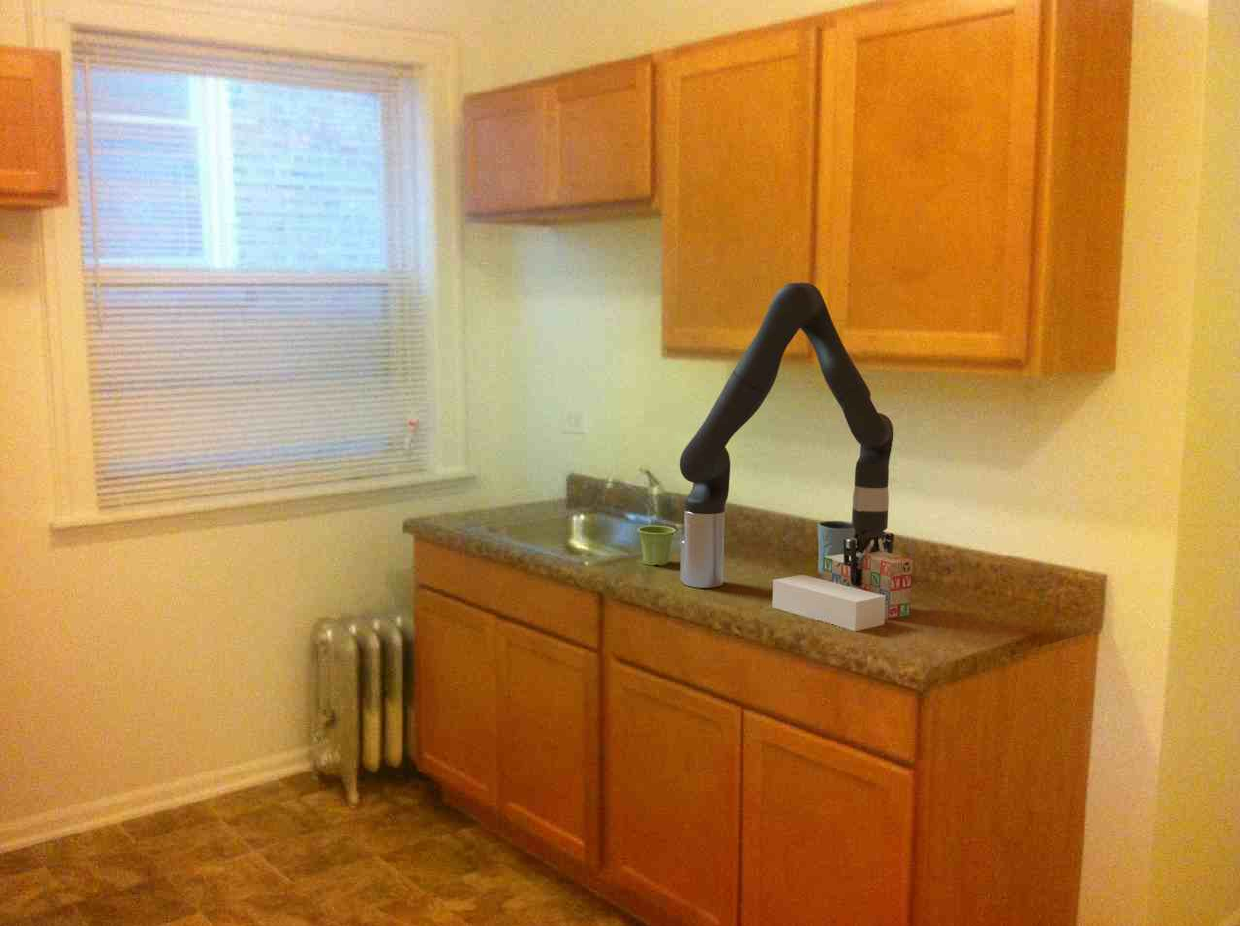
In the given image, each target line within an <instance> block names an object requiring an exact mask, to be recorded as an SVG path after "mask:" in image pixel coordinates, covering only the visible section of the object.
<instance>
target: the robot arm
mask: <svg viewBox="0 0 1240 926" xmlns="http://www.w3.org/2000/svg"><path fill="white" fill-rule="evenodd" d="M799 330H801V331H802V332H803V333H804V335H805V336H806V337H807V339H808V340H809V342H810V343H811V346H812V348H813V350H814V352H815V354H816V358H817V360H818V363H819V367H820V369H821V372H822V375H823V378H824V380H825V383H826V384H827V386H828V388H829V390H830V391H831V393H832V396H833V397H834V398H835V400H836V402H837V403H838V405H839V406H840V408H841V410H842V412H843V415H844V417H845V419H846V420H845V421H846V423H847V426H848V428H849V430H850V432H851V434H852V436H853V437H854V439H855V440H856V442H858V443H859V445H860V450H859V457H858V459H857V460H856V461H857V462H856V465H855V471H854V489H853V494H852V508H851V509H852V512H851V513H852V514H851V523H852V527H853V528H854V529H855V534H854V537H853V538H851V539H848V538H845V539H844V541H843V543H844V565H846V566H849V567H851V583H852V585H855V586H861V581H862V569H861V567H862V565H863V562H864V559H865V555H866V554H869V553H873V552H877V551H878V550H879V552H887V553H891V554H893V549H894V540H895V534H894V533H892V532H887V531H886V530H888V524H889V503H890V495H889V480H890V479H889V477H890V476H889V475H890V474H889V473H890V472H889V471H890V467H889V465H890V459H891V453H892V448H893V442H894V426H893V423H892V420H891V419H890V417H889V416H887V415H885V414H883V413H881V412H878V411H877V409H876V407H875V406H874V403H873V402H872V399H871V396H872V395H871V391H870V389H869V387H868V385H867V384H866V382H865V380H864V378H863V376H862V375H861V374H860V372H859V370H858V368H857V367H856V365H855V363H854V362H853V360H852V358H851V356H850V355H849V353H848V351H847V350H846V348H845V345H844V343H843V342H842V340H841V338H840V336H839V334H838V332H837V330H836V327H835V324H834V322H833V320H832V317H831V315H830V312H829V310H828V307H827V304H826V301H825V299H824V297H823V295H822V293H821V291H820V290H819V288H818V287H817V286H816V285H813V284H811V283H808V282H804V281H802V282H792V283H791V282H790V283H788V284H787V283H786V284H785V285H783V286H782V287H781V288H779V289H778V291H777V292H776V293H775V294H774V297H772V300H771V303H770V305H769V306H768V310H767V312H766V314H765V316H764V318H763V320H762V323H761V325H760V326H759V329H758V331H757V332H756V334H755V336H754V338H753V339H752V341H751V342H750V344H749V345H748V346H747V348H746V350H745V352H744V353H743V355H742V357H741V358H740V359H739V362H738V363H737V364H736V366H735V368H734V369H733V371H732V373H731V374H730V376H729V377H728V379H727V381H726V383H725V385H724V387H723V388H722V391H721V392H720V394H719V396H718V397H717V398H716V401H715V402H714V404H713V406H712V408H711V409H710V412H709V413H708V415H707V416H706V419H705V420H704V421H703V423H702V425H701V426H700V428H699V429H698V430H697V432H696V433H695V434H694V436H692V438H691V440H690V441H689V442H688V444H686V446H685V448H684V449H683V451H682V452H681V455H680V458H679V469H680V472H681V475H682V477H683V478H684V480H686V481H688V482H690V483H693V484H692V489H691V490H690V492H689V494H688V495H687V496H686V497H685V499H684V519H683V521H684V526H683V527H684V528H683V529H684V531H683V540H682V541H681V543H680V569H679V570H680V573H679V575H680V579H679V580H680V581H679V582H682V583H683V585H685V586H688V587H693V588H700V589H701V588H703V589H704V588H705V589H706V588H707V589H708V588H717V587H721V586H722V585H723V583H724V551H725V549H724V545H725V511H726V510H725V509H726V502H727V500H728V497H729V492H730V479H731V478H730V477H731V458H730V454H729V451H728V449H727V445H728V443H729V442H730V440H731V439H732V437H733V436H734V435H735V434H736V433H737V432H738V431H739V430H740V429H741V428H742V427H743V426H744V425H745V424H746V423H747V422H748V421H749V420H750V419H751V418H752V417H753V416H754V415H755V414H756V413H757V411H759V409H760V407H761V406H762V404H763V403H764V402H765V400H766V399H767V397H768V395H769V393H770V392H771V390H772V388H773V387H774V384H775V382H776V380H777V379H776V378H777V377H778V374H779V370H780V366H781V363H782V358H783V357H784V354H785V351H786V349H788V346H789V344H790V343H791V342H792V340H793V338H794V337H795V336H796V334H797V333H798V332H799ZM858 551H859V552H860V553H863V554H858V553H856V552H858ZM849 556H850V557H851V561H850V560H849ZM857 558H859V560H858V563H857V562H856V560H857Z"/></svg>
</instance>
